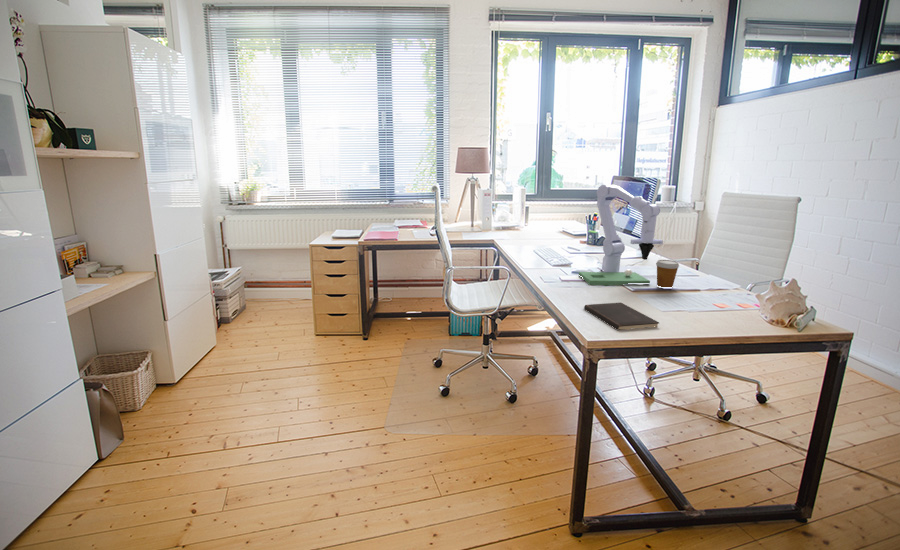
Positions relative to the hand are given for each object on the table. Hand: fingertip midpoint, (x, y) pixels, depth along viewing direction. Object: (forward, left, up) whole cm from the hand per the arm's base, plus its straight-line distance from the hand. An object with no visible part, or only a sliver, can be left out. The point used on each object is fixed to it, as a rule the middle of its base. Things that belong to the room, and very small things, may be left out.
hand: (644, 259), depth 223 cm
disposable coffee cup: (+12, +5, -11) cm, 17 cm away
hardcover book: (+52, -32, -11) cm, 62 cm away
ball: (0, -7, -7) cm, 10 cm away
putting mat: (0, -14, -10) cm, 17 cm away
